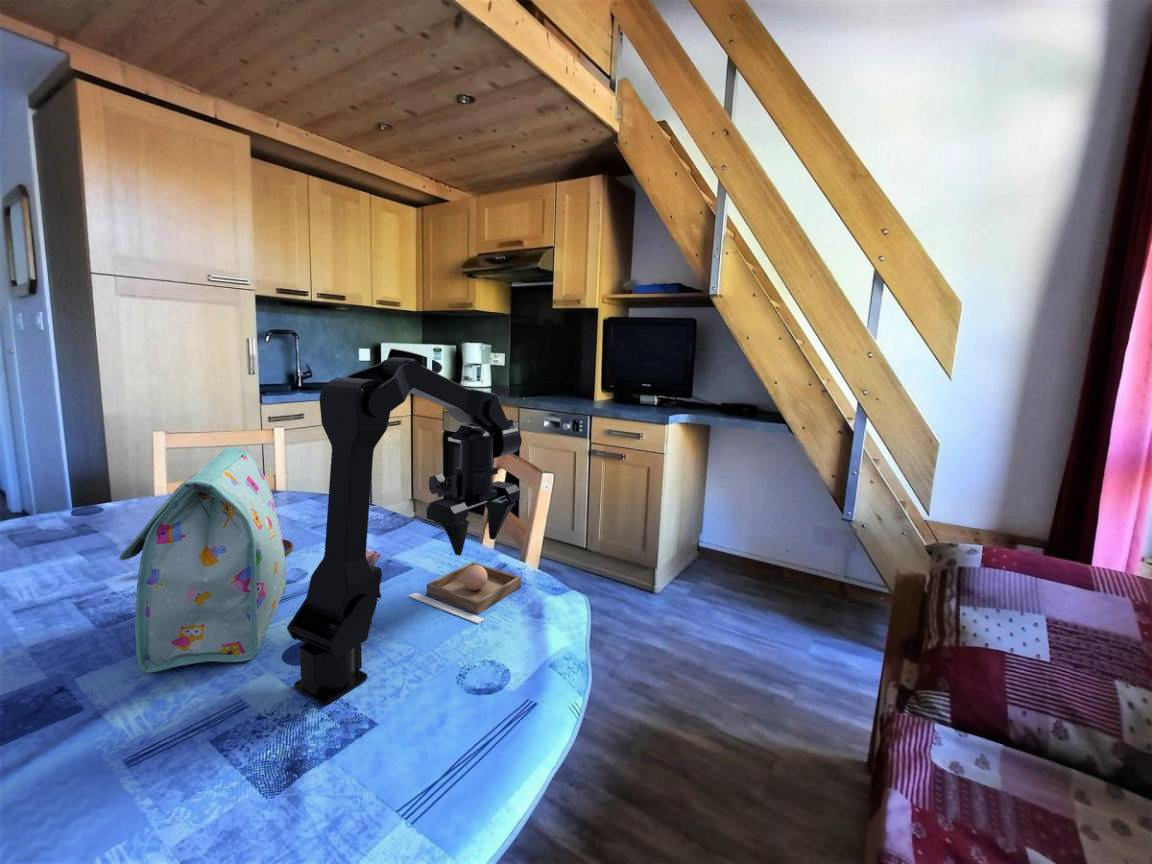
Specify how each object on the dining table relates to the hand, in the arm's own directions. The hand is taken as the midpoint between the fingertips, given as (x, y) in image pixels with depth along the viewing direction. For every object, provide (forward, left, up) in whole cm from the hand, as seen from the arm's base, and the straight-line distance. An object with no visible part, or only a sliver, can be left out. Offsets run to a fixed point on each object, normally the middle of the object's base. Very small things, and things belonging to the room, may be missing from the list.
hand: (475, 546), depth 91 cm
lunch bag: (-31, +23, -9) cm, 40 cm away
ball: (0, 0, -8) cm, 8 cm away
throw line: (-8, 0, -8) cm, 11 cm away
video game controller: (-10, +21, -9) cm, 25 cm away
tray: (0, 0, -8) cm, 9 cm away
